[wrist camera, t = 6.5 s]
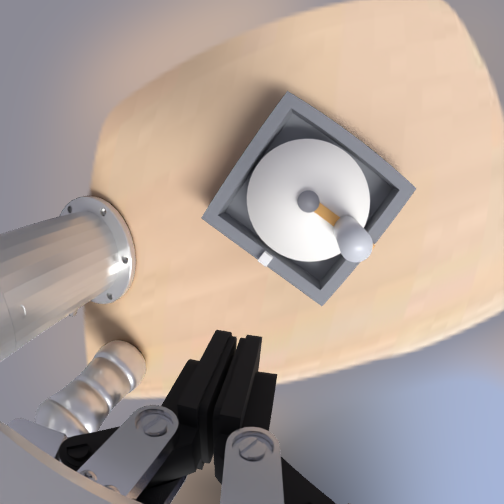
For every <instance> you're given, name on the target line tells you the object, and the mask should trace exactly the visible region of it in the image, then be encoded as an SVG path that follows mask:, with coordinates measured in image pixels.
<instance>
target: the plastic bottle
mask: <svg viewBox="0 0 504 504" xmlns="http://www.w3.org/2000/svg"><path fill="white" fill-rule="evenodd" d="M145 374H146V363H145V360H144V357H143V356H142V354H141V353H140V352H139V350H138V349H137V348H136V347H134V346H133V345H132V344H130V343H128V342H125V341H120V340H114V341H111V342H109V343H107V344H105V345H104V346H102V347H101V348H100V350H99V351H98V352H97V353H96V355H95V356H94V358H93V360H92V361H91V362H90V363H89V364H88V366H87V367H86V368H85V369H84V370H83V371H82V373H81V374H80V375H79V376H78V377H76V378H75V379H74V380H73V381H72V382H70V383H69V384H68V385H67V386H66V387H64V388H63V389H62V390H60V391H59V392H57V393H56V394H54V395H52V396H51V397H49V398H48V399H46V400H45V401H44V402H43V403H41V404H40V405H39V407H38V409H37V412H36V417H35V423H36V424H39V425H42V426H44V427H47V428H50V429H53V430H56V431H59V432H62V433H65V434H66V436H67V437H72V436H75V435H81V434H87V433H92V432H97V431H98V430H99V429H100V427H101V425H102V423H103V422H104V420H105V419H106V418H107V416H108V414H109V413H110V412H111V410H112V409H113V408H114V407H115V406H116V405H117V404H118V403H119V402H120V401H121V400H122V399H123V398H124V397H125V396H126V395H127V394H128V393H130V392H131V391H132V390H134V389H135V388H136V387H137V386H138V385H139V384H140V383H141V382H142V380H143V378H144V376H145Z"/></svg>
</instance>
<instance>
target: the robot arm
mask: <svg viewBox="0 0 504 504" xmlns="http://www.w3.org/2000/svg"><path fill="white" fill-rule="evenodd" d="M135 266H136V258H135V248H134V244H133V240H132V237H131V234H130V231H129V229H128V227H127V225H126V223H125V221H124V219H123V218H122V216H121V215H120V214H119V212H118V211H117V210H116V209H115V208H114V207H113V206H112V205H111V204H110V203H108V202H107V201H105V200H103V199H102V198H98V197H95V196H84V197H79V198H76V199H74V200H72V201H71V202H69V203H68V204H67V205H66V206H65V208H64V209H63V210H62V212H61V214H60V216H59V217H56V218H52V219H49V220H45V221H41V222H38V223H34V224H31V225H28V226H24V227H21V228H18V229H15V230H12V231H8V232H5V233H2V234H0V362H1V361H3V360H4V359H5V358H7V357H8V356H9V355H11V354H12V353H14V352H15V351H17V350H18V349H19V348H21V347H22V346H24V345H25V344H26V343H28V342H29V341H31V340H32V339H34V338H35V337H37V336H38V335H40V334H41V333H42V332H44V331H45V330H47V329H48V328H50V327H51V326H53V325H54V324H56V323H57V322H59V321H60V320H62V319H63V318H65V317H66V316H68V315H69V316H75V315H76V313H77V310H78V308H80V307H81V306H83V305H85V304H86V303H88V302H89V301H92V302H95V303H98V304H108V303H112V302H114V301H116V300H118V299H119V298H120V297H122V296H123V295H124V294H125V293H126V292H127V291H128V289H129V288H130V286H131V284H132V282H133V278H134V274H135ZM236 342H237V338H236V337H233V336H232V333H231V332H227V331H221V330H216V331H215V333H214V335H213V337H212V339H211V341H210V342H209V344H208V346H207V348H206V350H205V352H204V354H203V356H202V358H201V359H200V361H196V360H192V359H190V360H188V361H187V363H186V365H185V366H184V368H183V370H182V371H181V373H180V375H179V377H178V378H177V380H176V382H175V383H174V385H173V387H172V388H171V390H170V392H169V394H168V395H167V397H166V399H165V401H164V402H163V404H162V405H161V406H159V405H149V406H144V407H142V408H139V409H137V410H136V411H135V412H134V413H133V414H132V415H131V416H130V417H129V418H128V419H127V420H126V421H125V422H124V423H123V424H122V425H121V426H120V427H115V428H111V429H106V430H102V431H97V432H92V433H87V434H81V435H75V436H72V437H67V436H66V434H65V433H62V432H59V431H56V430H53V429H50V428H47V427H44V426H42V425H39V424H36V423H34V422H31V421H29V420H26V419H23V418H17V419H14V420H12V421H10V422H9V424H8V425H6V424H4V423H2V422H1V421H0V504H170V503H171V502H172V500H173V499H174V497H175V496H176V494H177V492H178V491H179V489H180V488H181V486H182V485H183V483H184V482H185V480H186V477H187V475H188V474H191V473H194V472H196V469H201V470H202V468H203V466H204V463H210V462H211V459H212V457H213V454H214V465H215V477H216V478H217V479H218V481H219V482H220V483H221V484H222V490H221V502H220V504H335V503H334V502H333V501H332V500H331V499H330V498H329V497H327V496H326V495H325V494H324V493H322V492H321V491H320V490H319V489H317V488H316V487H315V486H314V485H313V484H311V483H310V482H309V481H308V480H307V479H306V478H304V477H303V476H302V475H301V474H300V473H299V472H298V471H296V470H295V469H294V468H293V467H292V466H291V465H289V463H287V462H286V461H285V460H284V459H283V458H282V457H281V454H280V445H279V442H278V440H277V438H276V437H275V436H274V435H273V434H272V433H271V432H269V425H270V419H271V413H272V406H273V400H274V393H275V386H276V379H277V374H271V373H264V372H258V368H259V360H260V351H261V343H262V337H259V336H252V335H247V336H246V338H240V340H239V343H238V346H237V349H236ZM348 504H349V503H348Z"/></svg>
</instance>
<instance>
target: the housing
mask: <svg viewBox="0 0 504 504" xmlns="http://www.w3.org/2000/svg"><path fill="white" fill-rule="evenodd" d="M298 139H316V140H322V141H325V142H329V143H331V144H333V145H335V146H337V147H339V148H341V149H342V150H344V151H345V152H346V153H347V154H349V155H350V156H351V157H352V158H353V159H354V160H355V161H356V163H357V164H358V166H359V167H360V168H361V170H362V172H363V174H364V176H365V178H366V181H367V184H368V188H369V194H370V209H369V214H368V218H367V221H366V224H365V226H364V229H365V230H366V231H367V233H368V234H369V235H370V236H371V238H372V242H373V248H374V247H375V245H374V244H375V243H376V242H377V241H378V239H379V238H380V237H381V235H382V234H383V233H384V232H385V230H386V229H387V228H388V226H389V225H390V224H391V222H392V221H393V220H394V218H395V217H396V216H397V214H398V213H399V212H400V210H401V209H402V208H403V206H404V205H405V204H406V202H407V201H408V199H409V198H410V197H411V195H412V194H413V192H414V191H415V190H416V188H415V187H414V186H413V185H412V184H411V183H410V182H409V181H408V180H407V179H406V178H405V177H403V176H402V175H401V174H400V173H399V172H398V171H397V170H395V169H394V168H393V167H392V166H391V165H390V164H388V163H387V162H386V161H385V160H384V159H383V158H381V157H380V156H379V155H378V154H376V153H375V152H374V151H373V150H372V149H370V148H369V147H368V146H366V145H365V144H364V143H363V142H361V141H360V140H359V139H357V138H356V137H355V136H353V135H352V134H351V133H349V132H348V131H347V130H345V129H344V128H343V127H341V126H340V125H338V124H337V123H336V122H334V121H333V120H331V119H330V118H328V117H327V116H326V115H324V114H323V113H321V112H320V111H318V110H317V109H315V108H314V107H312V106H311V105H309V104H307V103H306V102H304V101H303V100H301V99H300V98H298V97H296V96H295V95H293V94H291V93H290V92H288V91H287V92H286V94H285V95H284V96H283V98H282V99H281V100H280V102H279V103H278V105H277V106H276V107H275V109H274V110H273V111H272V113H271V114H270V116H269V117H268V118H267V120H266V121H265V123H264V124H263V125H262V127H261V128H260V130H259V131H258V133H257V134H256V135H255V137H254V138H253V140H252V141H251V143H250V144H249V146H248V147H247V148H246V150H245V151H244V153H243V154H242V156H241V157H240V159H239V160H238V162H237V163H236V165H235V166H234V168H233V169H232V171H231V172H230V174H229V175H228V177H227V178H226V180H225V181H224V183H223V185H222V186H221V188H220V189H219V191H218V192H217V194H216V195H215V197H214V199H213V200H212V202H211V203H210V205H209V206H208V208H207V210H206V211H205V213H204V215H203V216H202V219H203V220H204V221H206V222H207V223H208V224H210V225H211V226H213V227H214V228H215V229H217V230H218V231H219V232H221V233H222V234H224V235H225V236H226V237H228V238H229V239H230V240H232V241H233V242H234V243H236V244H237V245H239V246H240V247H241V248H243V249H244V250H245V251H247V252H248V253H250V254H251V255H252V256H254V257H255V258H256V259H258V262H260V263H261V264H263V265H264V266H265V267H266V266H267V267H269V268H270V269H271V270H273V271H274V272H276V273H277V274H278V275H280V276H281V277H282V278H284V279H285V280H287V281H288V282H289V283H291V284H292V285H293V286H295V287H296V288H298V289H299V290H300V291H302V292H303V293H304V294H306V295H307V296H309V297H310V298H311V299H313V300H314V301H315V302H317V303H318V304H320V305H321V306H323V305H324V304H325V302H326V301H327V300H328V299H329V298H330V297H331V296H332V295H333V293H334V292H335V291H336V290H337V289H338V288H339V287H340V285H341V284H342V283H343V282H344V281H345V280H346V278H347V277H348V276H349V275H350V274H351V273H352V271H353V270H354V269H355V268H356V267H357V265H358V264H359V263H360V262H350V261H348V260H346V259H345V258H344V257H343V256H342V254H341V253H340V254H338V255H336V256H334V257H331V258H329V259H326V260H321V261H312V262H307V261H298V260H294V259H290V258H287V257H285V256H283V255H281V254H279V253H277V252H276V251H274V250H273V249H271V248H270V247H269V246H268V245H267V244H266V243H265V242H264V241H263V240H262V239H261V238H260V237H259V235H258V234H257V232H256V231H255V229H254V227H253V225H252V222H251V220H250V217H249V213H248V208H247V190H248V185H249V181H250V178H251V176H252V173H253V171H254V170H255V168H256V166H257V165H258V163H259V162H260V161H261V159H262V158H263V157H264V156H265V155H266V154H267V153H269V152H270V151H271V150H273V149H274V148H276V147H278V146H279V145H281V144H284V143H286V142H289V141H293V140H298ZM373 248H372V249H373Z"/></svg>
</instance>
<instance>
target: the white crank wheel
mask: <svg viewBox="0 0 504 504" xmlns="http://www.w3.org/2000/svg"><path fill="white" fill-rule="evenodd" d="M247 208H248V213H249V217H250V220H251V222H252V225H253V227H254V229H255V231H256V232H257V234H258V235H259V237H260V238H261V239H262V240H263V241H264V242H265V243H266V244H267V245H268V246H269V247H270V248H271V249H273V250H274V251H276V252H277V253H279V254H281V255H283V256H285V257H287V258H290V259H294V260H298V261H307V262H312V261H321V260H326V259H329V258H331V257H334V256H336V255H338V254H340V253H341V254H342V256H343V257H344V258H345V259H346V260H348V261H350V262H361V261H363V260H365V259H366V258H367V257H368V256H369V255H370V254H371V252H372V248H373V242H372V238H371V236H370V235H369V234H368V233H367V231H366V230H365V229H364V226H365V224H366V221H367V218H368V214H369V209H370V194H369V188H368V184H367V181H366V178H365V176H364V174H363V172H362V170H361V168H360V167H359V166H358V164H357V163H356V161H355V160H354V159H353V158H352V157H351V156H350V155H349V154H347V153H346V152H345V151H344V150H342V149H341V148H339V147H337V146H335V145H333V144H331V143H329V142H325V141H322V140H316V139H298V140H293V141H289V142H286V143H284V144H281V145H279V146H278V147H276V148H274V149H273V150H271V151H270V152H269V153H267V154H266V155H265V156H264V157H263V158H262V159H261V161H260V162H259V163H258V165H257V166H256V168H255V170H254V171H253V173H252V176H251V178H250V181H249V185H248V190H247Z"/></svg>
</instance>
